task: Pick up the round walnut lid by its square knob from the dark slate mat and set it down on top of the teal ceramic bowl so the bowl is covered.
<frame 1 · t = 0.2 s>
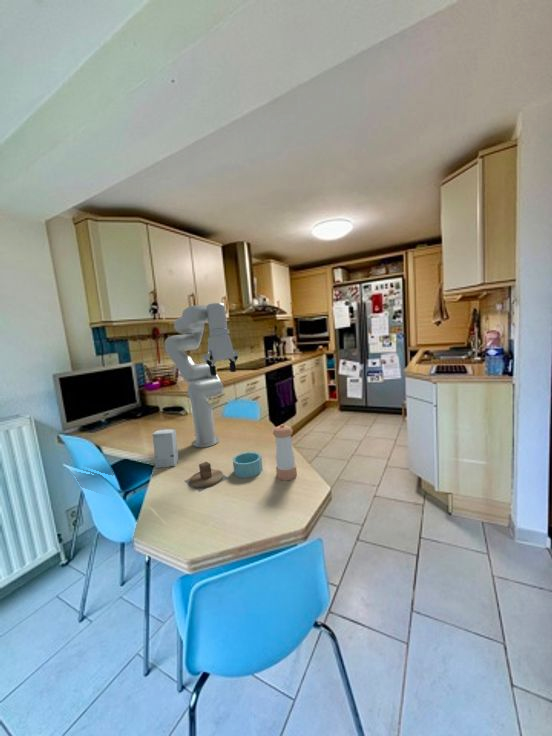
hand: (223, 373, 129), 36 cm above the table, tool pointing down, fingers open, 9 cm apart
bowl: (248, 471, 116), on the table
salt shaker: (286, 475, 110), on the table
skincare box: (168, 465, 130), on the table
lid: (206, 479, 112), resting on mat
mat: (206, 480, 112), on the table
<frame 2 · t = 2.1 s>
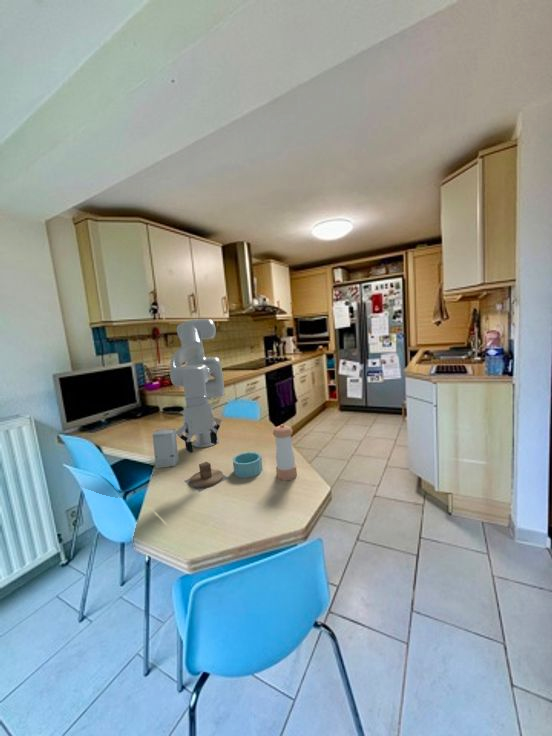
hand: (202, 447, 110), 13 cm above the table, tool pointing down, fingers open, 9 cm apart
nothing on the table moved.
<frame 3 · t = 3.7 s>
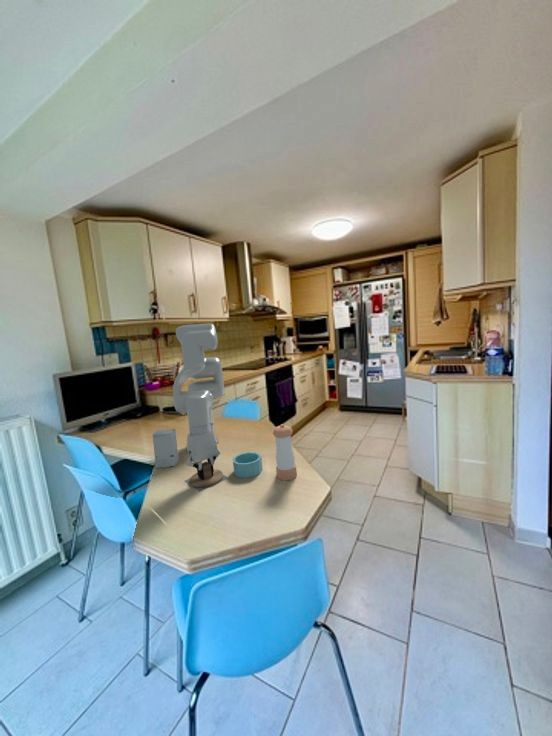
hand: (206, 476, 112), 2 cm above the table, tool pointing down, fingers closed on lid, 3 cm apart
lid: (206, 479, 112), resting on mat, touching gripper
everything else where it was.
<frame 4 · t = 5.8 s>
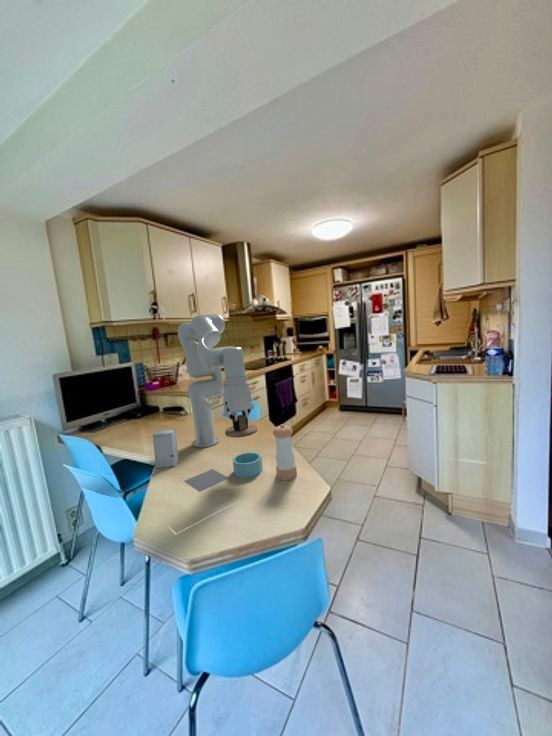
hand: (241, 428, 114), 17 cm above the table, tool pointing down, fingers closed on lid, 3 cm apart
lid: (241, 431, 114), point 16 cm above the table, touching gripper
everything else where it was.
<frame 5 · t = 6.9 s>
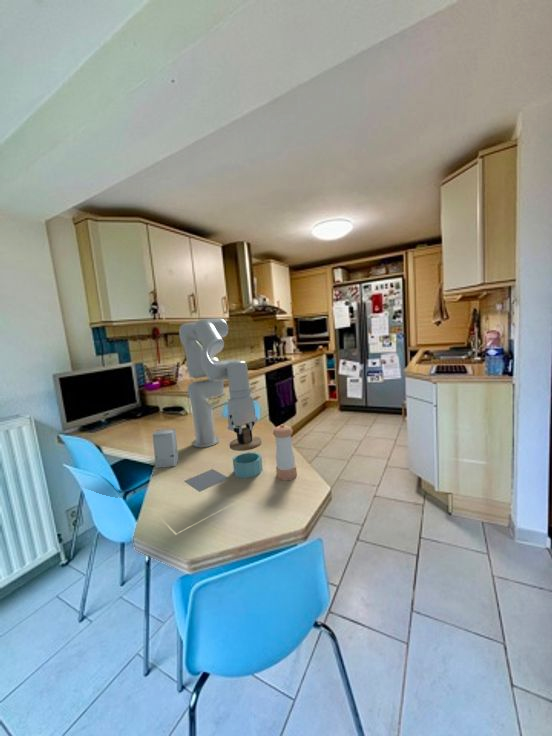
hand: (245, 441, 115), 12 cm above the table, tool pointing down, fingers closed on lid, 3 cm apart
lid: (245, 444, 115), point 11 cm above the table, touching gripper
everything else where it was.
when the fingers open (8 cm above the table, at t = 7.9 s): lid stays where it is, resting on bowl.
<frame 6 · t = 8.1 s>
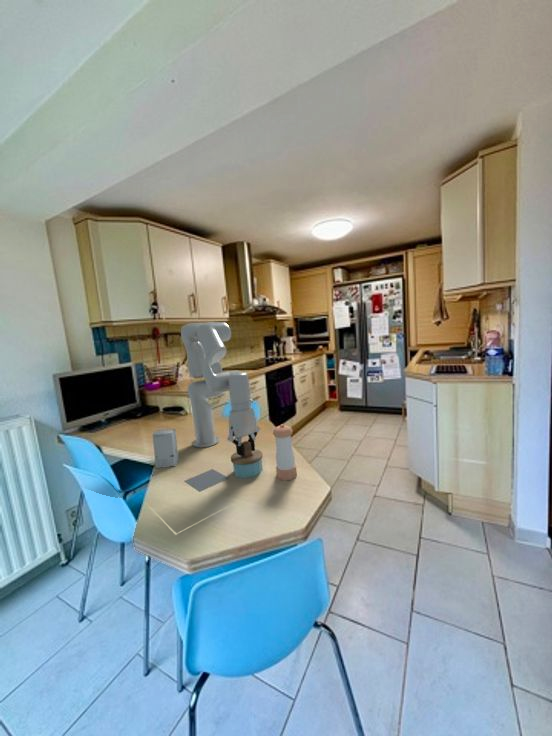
hand: (246, 452, 115), 8 cm above the table, tool pointing down, fingers open, 4 cm apart
lid: (246, 457, 116), point 5 cm above the table, touching bowl
everything else where it was.
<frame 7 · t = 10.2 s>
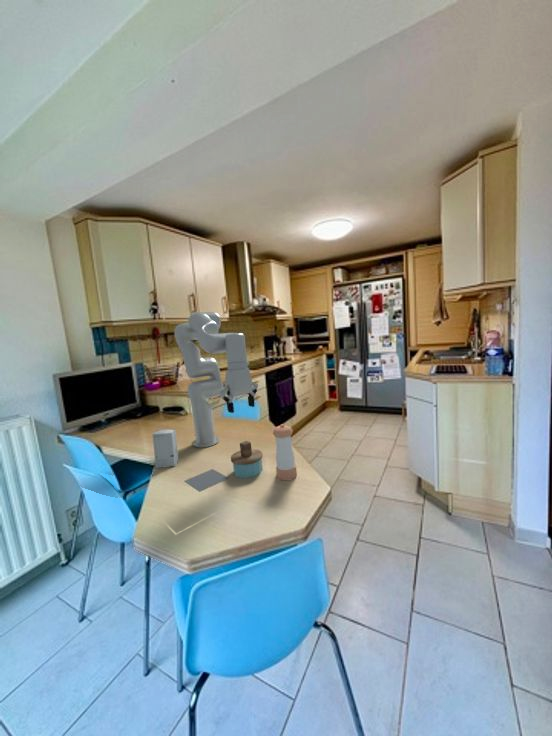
hand: (241, 409, 118), 23 cm above the table, tool pointing down, fingers open, 9 cm apart
nothing on the table moved.
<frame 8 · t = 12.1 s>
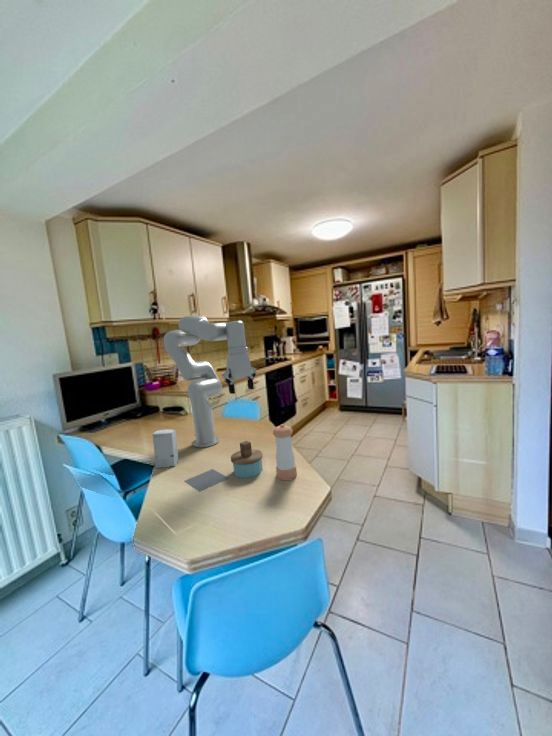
hand: (241, 391, 129), 28 cm above the table, tool pointing down, fingers open, 9 cm apart
nothing on the table moved.
at the end: lid 0.1 cm off-centre on the bowl, point 5.5 cm above the bowl's base; lid tilted 0°; the gripper is holding nothing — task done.
